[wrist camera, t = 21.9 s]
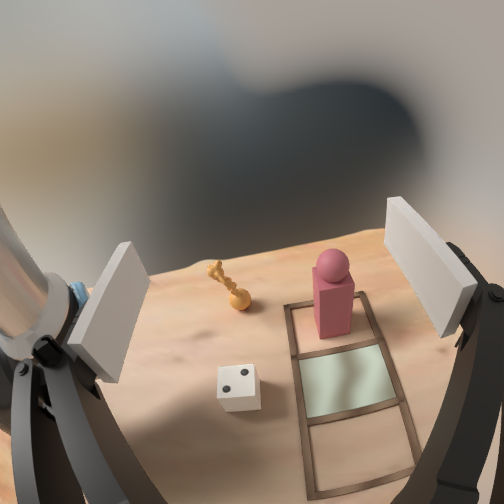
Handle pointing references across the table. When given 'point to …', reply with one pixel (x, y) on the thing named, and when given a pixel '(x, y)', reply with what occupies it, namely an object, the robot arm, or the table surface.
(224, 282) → the figurine
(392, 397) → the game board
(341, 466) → the table surface
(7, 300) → the robot arm
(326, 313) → the pawn
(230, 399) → the die
